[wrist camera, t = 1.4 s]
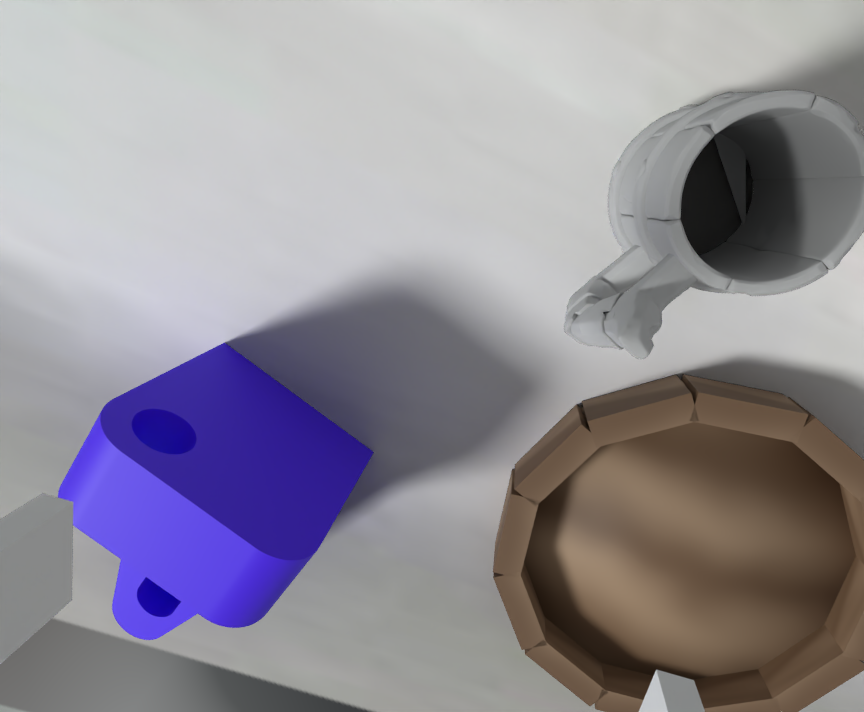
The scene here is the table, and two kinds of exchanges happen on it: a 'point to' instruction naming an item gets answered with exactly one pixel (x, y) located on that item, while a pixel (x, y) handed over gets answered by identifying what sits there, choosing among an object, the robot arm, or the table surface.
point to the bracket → (209, 492)
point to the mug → (767, 216)
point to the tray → (688, 548)
